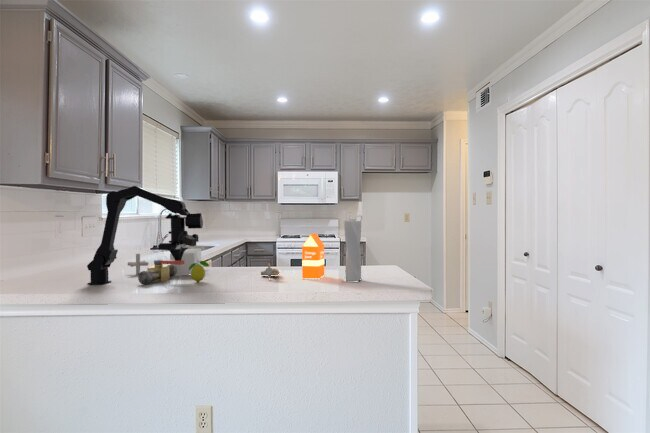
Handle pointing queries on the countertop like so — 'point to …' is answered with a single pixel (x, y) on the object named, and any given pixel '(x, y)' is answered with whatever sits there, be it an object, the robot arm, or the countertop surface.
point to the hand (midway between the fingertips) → (178, 264)
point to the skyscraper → (353, 249)
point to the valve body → (157, 274)
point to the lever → (169, 262)
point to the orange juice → (313, 257)
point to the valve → (270, 271)
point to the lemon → (198, 271)
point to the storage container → (187, 261)
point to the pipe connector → (138, 263)
